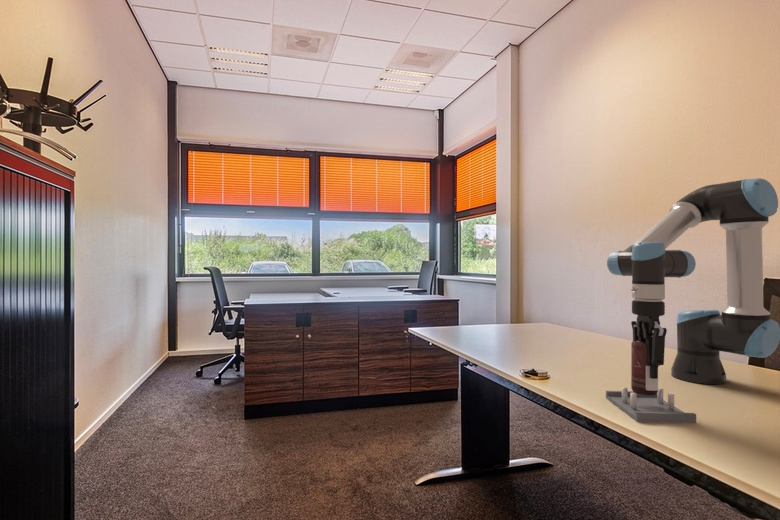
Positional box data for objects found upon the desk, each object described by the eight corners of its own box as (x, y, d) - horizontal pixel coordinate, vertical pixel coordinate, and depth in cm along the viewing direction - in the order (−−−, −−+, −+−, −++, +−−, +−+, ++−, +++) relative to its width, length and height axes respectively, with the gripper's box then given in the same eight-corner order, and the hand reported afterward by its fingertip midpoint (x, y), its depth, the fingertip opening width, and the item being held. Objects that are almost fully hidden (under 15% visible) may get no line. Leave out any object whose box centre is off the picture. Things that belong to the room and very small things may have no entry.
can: (651, 397, 110) (651, 343, 110) (626, 390, 115) (626, 339, 115) (663, 393, 113) (663, 341, 113) (639, 387, 118) (639, 337, 118)
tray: (656, 399, 122) (656, 382, 122) (696, 423, 104) (696, 402, 104) (605, 398, 123) (605, 380, 123) (636, 421, 105) (636, 401, 105)
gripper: (619, 297, 121) (619, 379, 121) (649, 302, 105) (649, 397, 105) (646, 297, 121) (646, 379, 121) (681, 303, 105) (681, 398, 105)
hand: (648, 387), depth 113 cm, fingers open, 3 cm apart
